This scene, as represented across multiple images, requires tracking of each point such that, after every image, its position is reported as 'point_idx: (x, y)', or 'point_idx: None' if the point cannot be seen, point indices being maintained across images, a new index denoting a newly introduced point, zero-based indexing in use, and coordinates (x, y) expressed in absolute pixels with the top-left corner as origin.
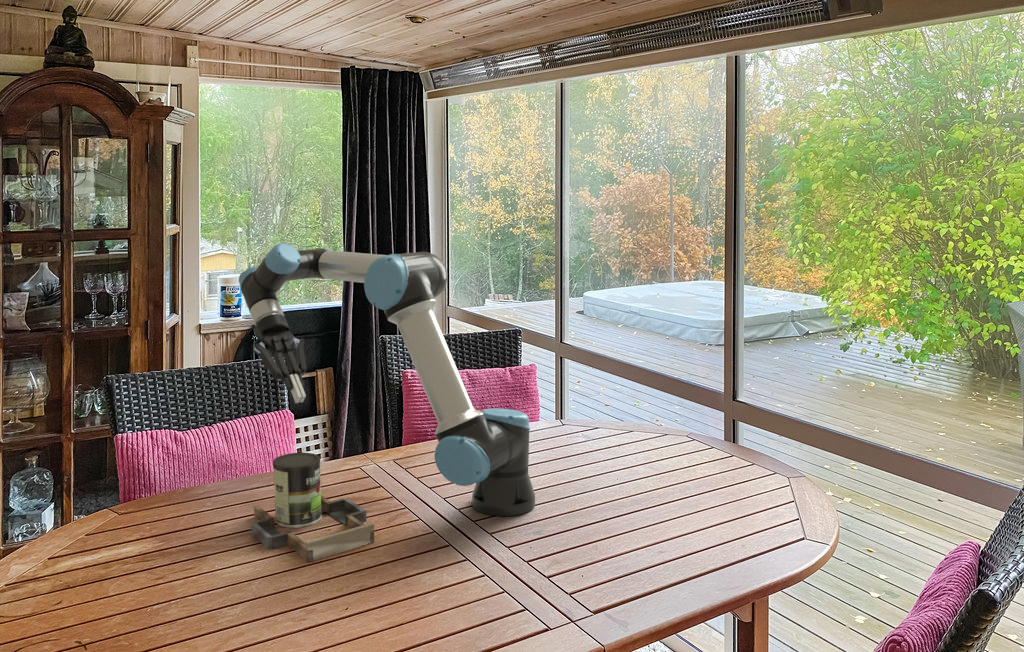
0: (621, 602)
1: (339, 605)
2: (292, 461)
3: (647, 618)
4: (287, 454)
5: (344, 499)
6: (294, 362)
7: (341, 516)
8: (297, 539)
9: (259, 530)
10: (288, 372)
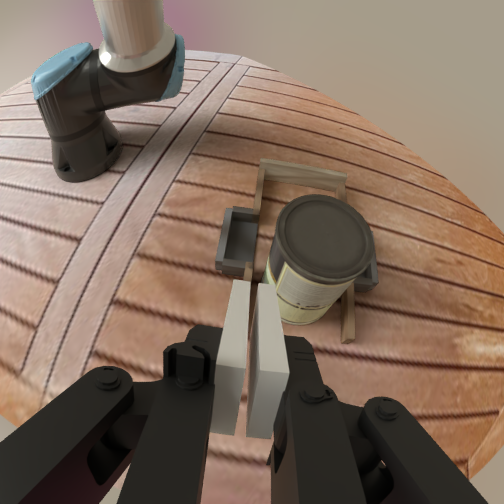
0: (199, 60)
1: (343, 133)
2: (336, 235)
3: (205, 53)
4: (328, 277)
5: (222, 259)
6: (163, 473)
7: (245, 247)
8: None
9: (375, 255)
10: (293, 398)
